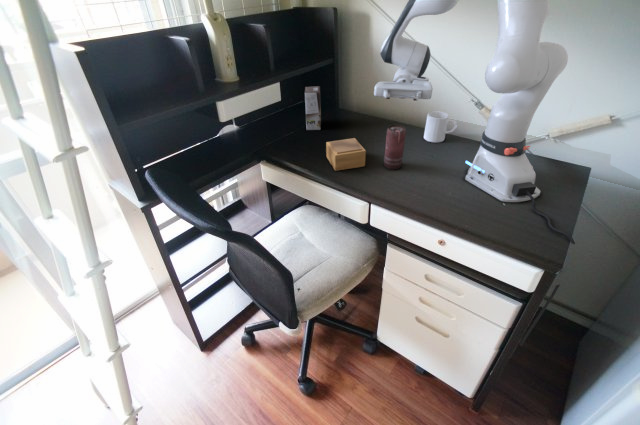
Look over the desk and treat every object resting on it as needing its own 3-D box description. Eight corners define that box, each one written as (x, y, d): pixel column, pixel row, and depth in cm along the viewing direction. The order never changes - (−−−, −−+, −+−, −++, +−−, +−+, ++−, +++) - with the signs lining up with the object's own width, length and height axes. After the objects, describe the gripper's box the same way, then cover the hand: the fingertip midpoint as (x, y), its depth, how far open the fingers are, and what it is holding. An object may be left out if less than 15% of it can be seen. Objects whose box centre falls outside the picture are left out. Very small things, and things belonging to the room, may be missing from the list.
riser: (364, 166, 115) (365, 149, 111) (335, 171, 113) (335, 154, 109) (354, 152, 124) (354, 136, 120) (326, 156, 122) (326, 141, 118)
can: (388, 171, 112) (392, 133, 103) (380, 163, 117) (384, 125, 108) (404, 168, 113) (410, 130, 104) (396, 160, 118) (401, 123, 109)
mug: (450, 146, 125) (455, 122, 119) (420, 139, 131) (424, 115, 125) (456, 139, 130) (462, 115, 124) (428, 132, 136) (432, 109, 130)
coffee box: (321, 130, 142) (319, 92, 132) (306, 130, 142) (304, 92, 132) (321, 122, 149) (320, 85, 139) (307, 122, 149) (305, 86, 139)
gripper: (376, 75, 123) (371, 86, 112) (433, 77, 118) (433, 89, 108) (375, 92, 127) (370, 104, 116) (430, 95, 122) (430, 108, 112)
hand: (401, 97), depth 112 cm, fingers open, 8 cm apart
